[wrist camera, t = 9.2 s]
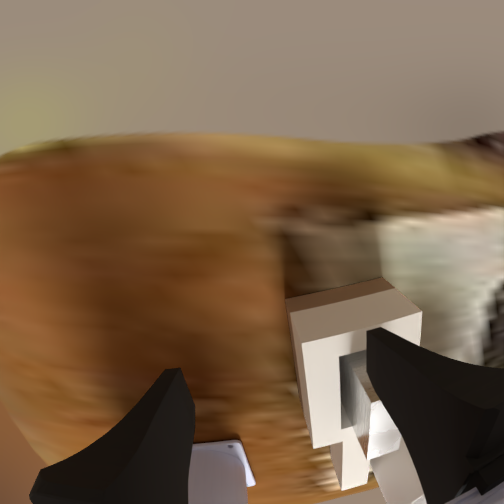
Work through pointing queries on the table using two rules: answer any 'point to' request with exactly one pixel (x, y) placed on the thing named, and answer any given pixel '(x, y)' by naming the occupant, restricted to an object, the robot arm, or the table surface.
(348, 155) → the table surface
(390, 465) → the mug
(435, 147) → the table surface
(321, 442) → the slotted upright plate
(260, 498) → the table surface
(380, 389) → the robot arm
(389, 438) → the white upright block
